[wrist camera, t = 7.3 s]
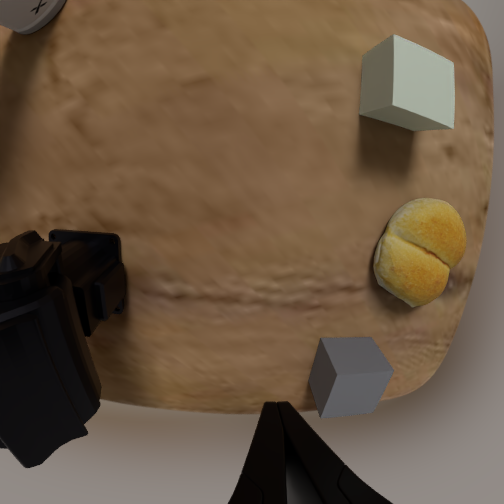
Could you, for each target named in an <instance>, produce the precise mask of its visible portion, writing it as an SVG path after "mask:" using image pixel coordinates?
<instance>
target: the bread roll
mask: <svg viewBox="0 0 504 504" xmlns="http://www.w3.org/2000/svg"><path fill="white" fill-rule="evenodd" d="M465 249H466V232H465V228H464V225H463V222H462V220H461V218H460V216H459V214H458V213H457V212H456V210H455V209H454V208H453V207H452V206H451V205H450V204H448V203H447V202H445V201H442V200H438V199H431V198H419V199H416V200H412V201H410V202H408V203H406V204H405V205H403V206H402V207H400V208H399V209H398V210H397V211H396V212H395V214H394V215H393V216H392V217H391V219H390V220H389V222H388V224H387V228H386V231H385V233H384V234H383V236H382V237H381V239H380V240H379V242H378V245H377V248H376V251H375V256H374V265H373V269H374V274H375V277H376V279H377V282H378V284H379V285H380V286H382V287H383V288H384V289H386V290H387V291H388V292H390V293H391V294H394V296H396V297H398V298H399V299H402V300H403V301H404V302H406V303H407V304H409V305H410V306H411V307H415V306H422V305H426V304H428V303H430V302H431V301H433V300H434V299H436V298H437V297H438V296H439V295H440V294H441V293H442V292H443V290H444V289H445V286H446V284H447V281H448V276H449V270H450V269H452V268H453V267H454V266H456V265H457V264H458V263H459V262H460V260H461V259H462V257H463V255H464V253H465Z"/></svg>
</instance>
